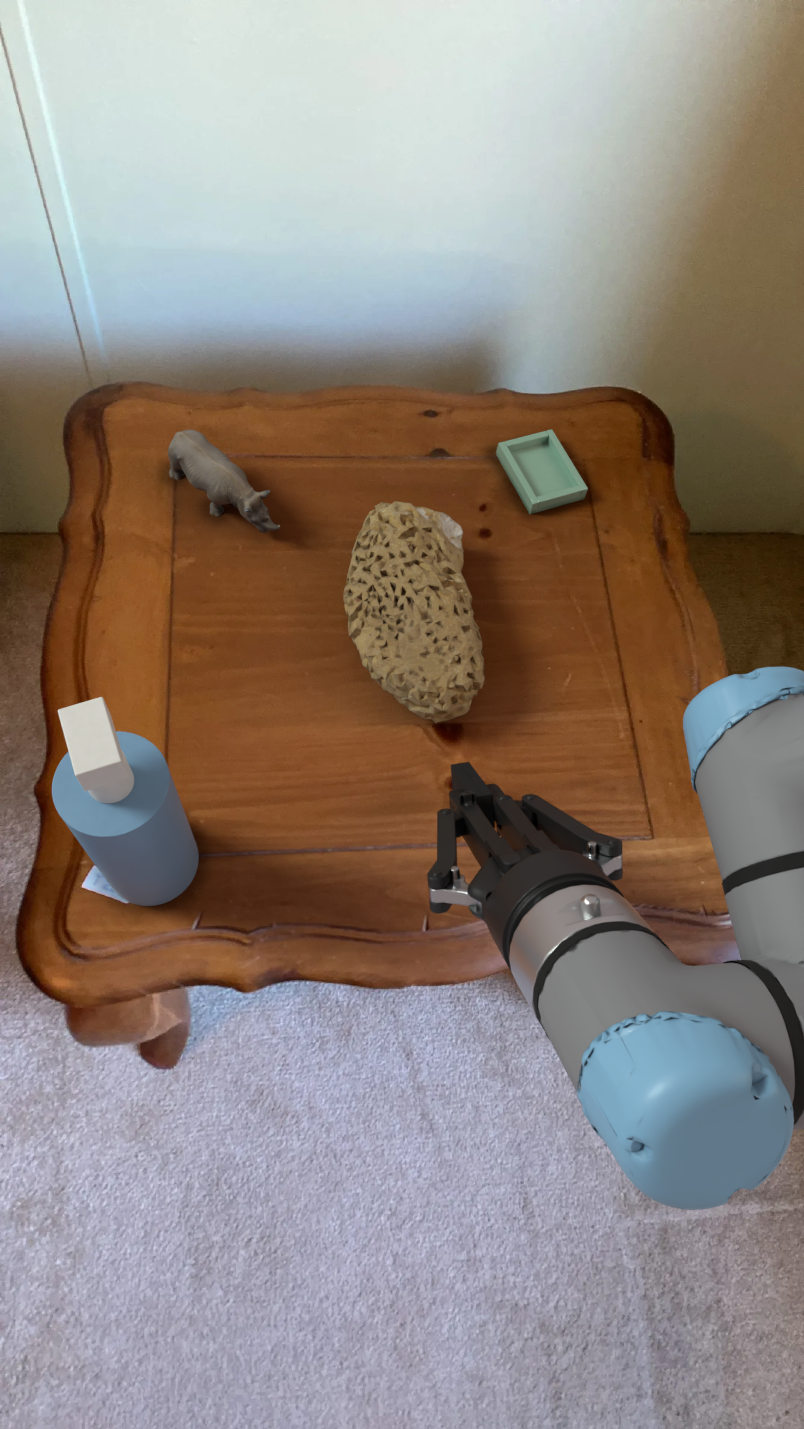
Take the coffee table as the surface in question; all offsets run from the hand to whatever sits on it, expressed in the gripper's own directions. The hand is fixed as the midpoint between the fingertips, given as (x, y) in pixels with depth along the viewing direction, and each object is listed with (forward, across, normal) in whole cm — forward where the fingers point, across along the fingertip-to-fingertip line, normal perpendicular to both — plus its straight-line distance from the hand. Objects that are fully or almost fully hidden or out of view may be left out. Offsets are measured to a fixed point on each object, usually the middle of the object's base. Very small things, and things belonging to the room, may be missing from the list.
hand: (460, 779), depth 72 cm
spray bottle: (+1, +24, +3) cm, 25 cm away
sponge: (+14, 0, -9) cm, 16 cm away
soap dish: (+24, -16, -20) cm, 35 cm away
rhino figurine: (+25, +15, -20) cm, 35 cm away
